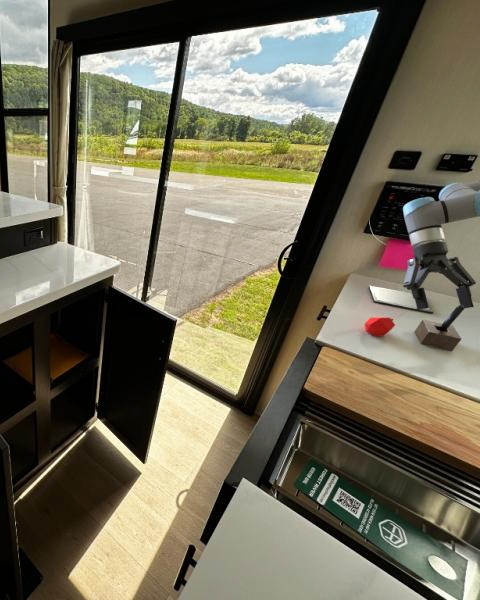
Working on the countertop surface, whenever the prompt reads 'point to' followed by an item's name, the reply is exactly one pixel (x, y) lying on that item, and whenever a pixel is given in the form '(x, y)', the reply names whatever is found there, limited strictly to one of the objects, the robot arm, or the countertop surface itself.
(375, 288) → the tablet
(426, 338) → the block
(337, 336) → the countertop surface
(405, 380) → the countertop surface
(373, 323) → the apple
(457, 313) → the stylus
